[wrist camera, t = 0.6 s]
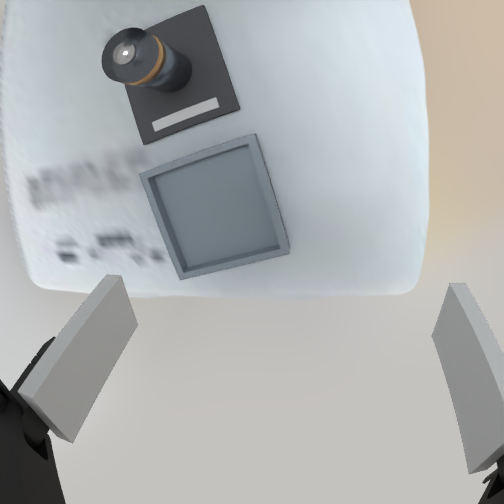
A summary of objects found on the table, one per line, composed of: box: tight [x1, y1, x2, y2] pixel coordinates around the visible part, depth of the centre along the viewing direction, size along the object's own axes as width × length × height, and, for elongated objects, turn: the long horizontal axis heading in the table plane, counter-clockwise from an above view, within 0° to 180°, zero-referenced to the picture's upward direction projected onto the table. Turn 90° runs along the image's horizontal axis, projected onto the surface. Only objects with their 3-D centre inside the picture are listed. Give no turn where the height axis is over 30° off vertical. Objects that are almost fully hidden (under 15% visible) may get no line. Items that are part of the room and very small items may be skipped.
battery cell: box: [102, 28, 192, 93], centre depth 26 cm, size 5×5×12 cm
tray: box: [139, 134, 290, 280], centre depth 36 cm, size 14×14×2 cm
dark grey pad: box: [125, 5, 240, 145], centre depth 31 cm, size 14×12×1 cm
